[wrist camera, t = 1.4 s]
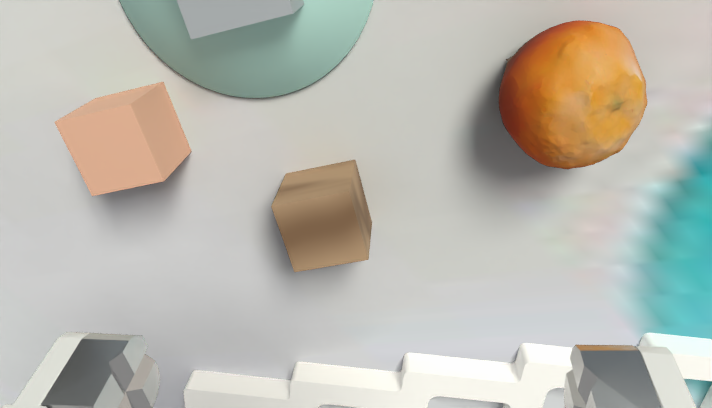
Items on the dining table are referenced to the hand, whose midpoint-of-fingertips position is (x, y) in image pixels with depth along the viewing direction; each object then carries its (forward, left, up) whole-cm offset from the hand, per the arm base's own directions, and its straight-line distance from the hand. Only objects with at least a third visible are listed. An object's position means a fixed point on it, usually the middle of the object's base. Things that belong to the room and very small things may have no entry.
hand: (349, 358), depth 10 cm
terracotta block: (-1, +17, -27) cm, 32 cm away
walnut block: (-9, +6, -27) cm, 29 cm away
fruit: (-4, -10, -27) cm, 29 cm away
